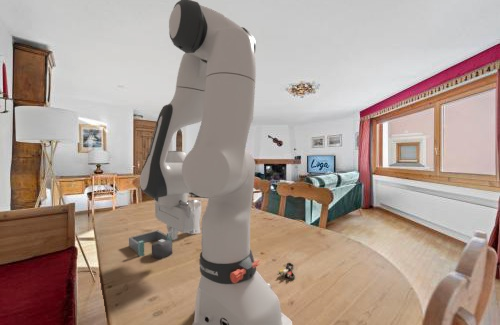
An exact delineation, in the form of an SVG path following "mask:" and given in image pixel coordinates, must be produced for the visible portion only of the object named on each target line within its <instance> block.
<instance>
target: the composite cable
mask: <svg viewBox="0 0 500 325" xmlns="http://www.w3.org/2000/svg"><path fill="white" fill-rule="evenodd" d="M285 267H286V268H287V269H286V268H284V269H282V268H281V269H280V270H278V272H277V273H276V275H278V276H279V275H282V279H286V278H287V279H289V280H290V281H294V280H295V279H296V278H295V277H296V276H295V273H294V272H293V269H294V264H293V263H291V262H287V263H286V266H285Z"/></svg>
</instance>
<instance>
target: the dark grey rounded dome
mask: <svg viewBox="0 0 500 325" xmlns="http://www.w3.org/2000/svg"><path fill="white" fill-rule="evenodd" d="M172 254H173V240H172V241H170V240H163V239H161V240H158V239H157V241H155V242H152V244H151V257H152V259H158V260H160V259H165V258H168V257H170V256H172Z"/></svg>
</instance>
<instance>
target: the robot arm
mask: <svg viewBox="0 0 500 325" xmlns="http://www.w3.org/2000/svg"><path fill="white" fill-rule="evenodd" d="M168 19H169V20H168V30H169V39H170V40H171V42H172V44H173V46H174V47H176V48H178V50H181V51H182V52H184V53H183V55H182V57H181V60H180V64H179V68H178V72H177V77H176V85H175V91H174V95H173V96H172V97H173V98H172V99H171V101H170V102H169V103H168V104H165V105H163V106H162V108H161V110H160V111H159V114H158V117H157V119H156V124H155V126H154V131H153V132H152V133H153V134H152V136H151V137H152V138H151V141H150V144H149V149H148V152H147V156H146V159H145V162H144V164H143V165H142V169H141V173H140V176H139V188H140V190H141V191H142V192H143V193H144V194H145V195H146V196H148V197H150V198H152V199H153V201H155V202H154V216H155V218H156V220H157V221H159V222H161V223H163V224H165V225H166V230H167V233H168V237H170V238H171V239H172V241H174V240H177V239H178V233H179V232H180V233H182V234H186V233H187V232H190V231H192V230H193V227H194V224H193V212H192V209H191V207H190V206H189V204H188V203H187V201H188V194H191V193H192V194H194V195H195V196H198V197H199V198H200V197H201V198H205V199H206V198H207V200H208V201H207V205H206V207H205V211H204V213H203V215H202V217H201V252H200V254H199V260H198V264H199V272H200V279H199V282H198V286H197V289H196V295H195V308H194V320H193V322H192V324H191V325H293V321H292V320H291V319H290V318H289V317H288V316H287V315H286V314H284V313H283V312H282V309H281V302H280V300H279V297H278V295H277V294H276V293H275V292H274V290H273V288H272V285H271V284H270V283H269V282H266V280H265V279H264V278H263V277H262V275H261V274H260V273H259V272H258V271H257V267H258V266H260V261H261V260H260V259H257V260H256V261H255V258H254V255H253V251H252V250H251V214H252V213H251V211H252V205H253V195H254V187H255V175H256V174H255V173H256V161H255V158H254V157H253V155H252V154H251V152H250V151H249V150H248V149H246V147H247V146H246V145H247V141H248V137H249V133H250V128H251V126H252V125H251V124H252V122H253V120H254V111H255V110H254V109H255V94H256V93H255V92H256V76H257V74H256V72H257V71H256V69H257V68H256V55H255V54H256V48H257V47H256V44H257V43H256V39H255V37H254V36H253V34H252V33H251V32H250V31H249V30H248V29H246V28H245V27H243V26H241V25H239V24H237V23H236V22H235V21H233V20H231V19H230V18H228V17H226V16H225V15H224V14H222V13H220V12H218V11H216V10H214V9H212V8H209V7H208V6H207V7H206V6H204V5H202V4H201V5H200V3H199V2H198V1H194V0H179V1H177V2H176V3H175V4H174V7H172V10H171V13H170V15H169V18H168ZM198 123H200V126H199V130H198V133H197V136H196V139H195V142H194V145H193V147H192V148H191V150H190V151H189V152H188V153H187V152H185V151H183V150H182V151H181V150H170V151H169V149H170V145H171V142H172V138H173V136H174V134H175V133H176V132H178V131H179V130H180V129H182V128H184V127H187V126H190V125H191V126H192V125H194V124H198ZM187 234H188V233H187Z"/></svg>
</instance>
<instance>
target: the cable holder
mask: <svg viewBox="0 0 500 325" xmlns="http://www.w3.org/2000/svg"><path fill="white" fill-rule="evenodd" d="M161 239H163V240H170V241H172V242H173V239H171V238H170V237H168V232H167V233H164V232H162V231H159V230H152V231H149V232H146V233H142V234H138V235H133V236H131V237H128V247H129V248H130V249H132V250H133V251H134V252H135V253H137V255H138V257H142V256H145V243H148V242H151V241H155V240H157V241H158V240H161Z"/></svg>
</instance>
